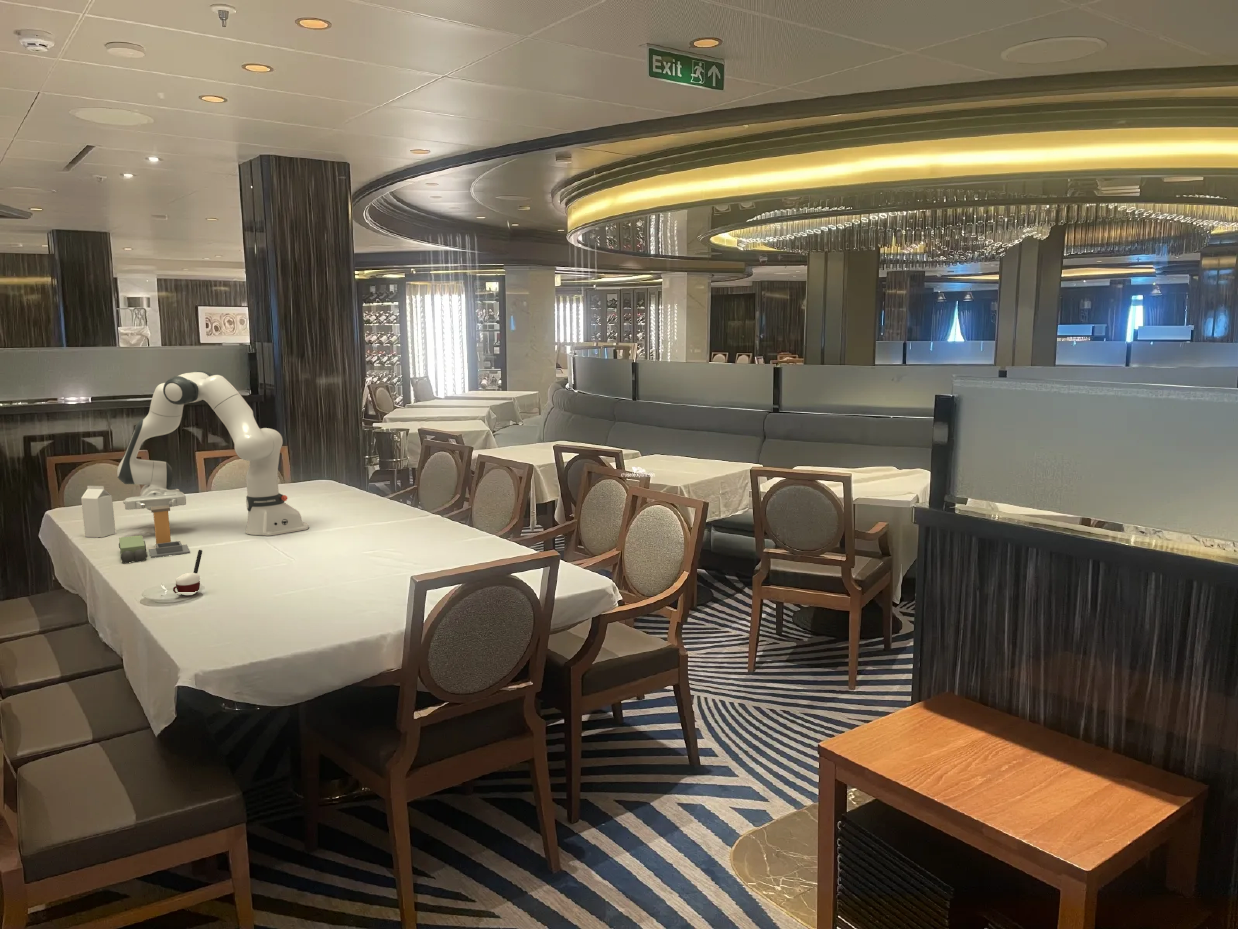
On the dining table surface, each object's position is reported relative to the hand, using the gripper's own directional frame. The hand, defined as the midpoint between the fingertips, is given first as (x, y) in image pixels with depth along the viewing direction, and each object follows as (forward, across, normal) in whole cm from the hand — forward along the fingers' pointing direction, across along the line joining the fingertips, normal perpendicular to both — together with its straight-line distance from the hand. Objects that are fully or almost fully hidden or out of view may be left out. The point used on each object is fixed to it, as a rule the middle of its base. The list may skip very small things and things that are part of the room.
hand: (157, 505), depth 316 cm
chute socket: (+23, +2, +13) cm, 27 cm away
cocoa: (+82, +2, +12) cm, 83 cm away
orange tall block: (+12, 0, +13) cm, 18 cm away
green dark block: (+22, -10, +13) cm, 27 cm away
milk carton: (-20, -18, +14) cm, 30 cm away
